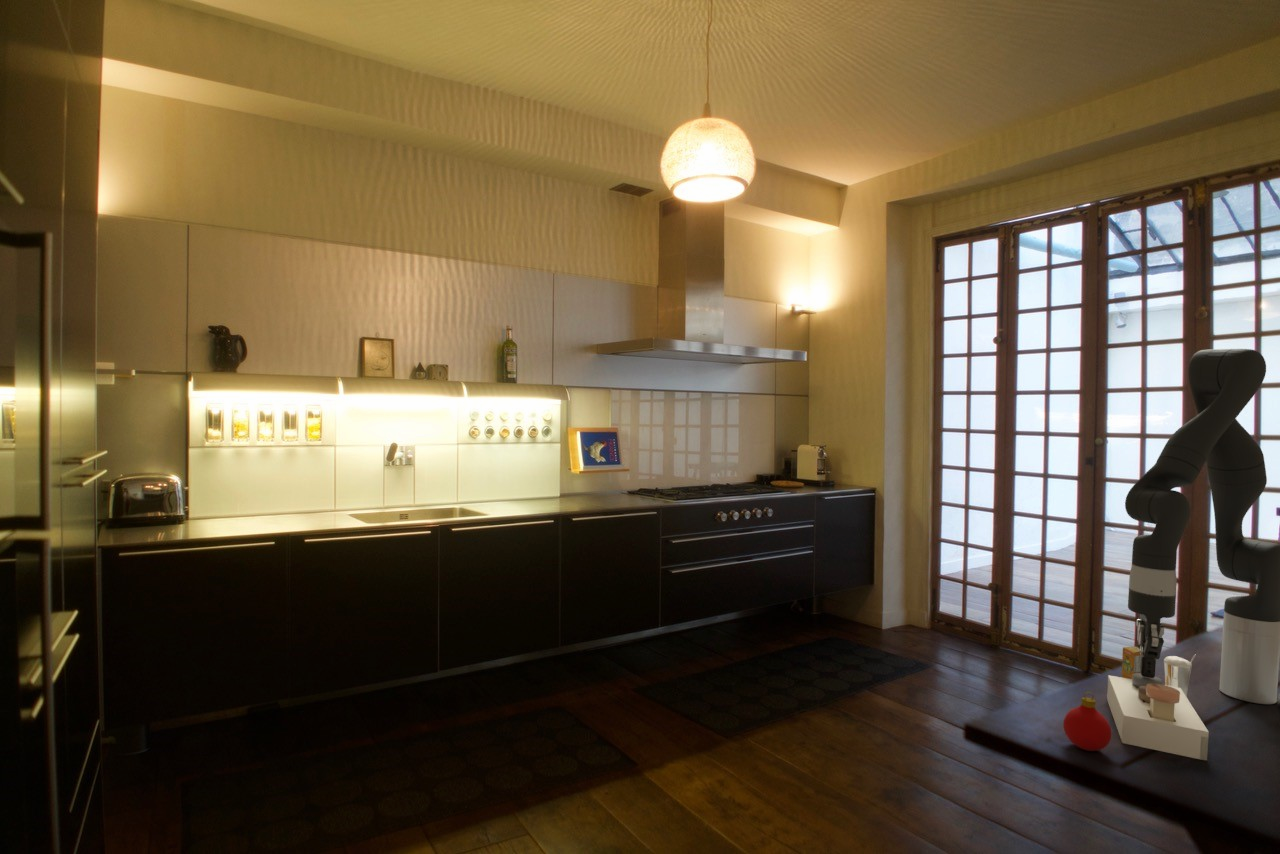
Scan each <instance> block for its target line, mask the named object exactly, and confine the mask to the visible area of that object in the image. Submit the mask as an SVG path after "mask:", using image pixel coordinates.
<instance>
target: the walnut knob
mask: <svg viewBox="0 0 1280 854" xmlns="http://www.w3.org/2000/svg"><path fill="white" fill-rule="evenodd" d="M1138 697H1139V698H1140V699H1142V701H1143V702H1145V703H1150V697H1148V696H1147V695H1146V686H1140V687H1139V690H1138Z"/></svg>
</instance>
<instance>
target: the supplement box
mask: <svg viewBox="0 0 1280 854" xmlns="http://www.w3.org/2000/svg"><path fill="white" fill-rule="evenodd" d="M1139 650H1140V649H1139V647H1138V646H1123V647H1122V660H1121V677H1122V678H1127V679H1132V675H1133V674H1134V673H1140V664H1141V655H1140V653H1139Z"/></svg>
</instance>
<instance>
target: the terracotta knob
mask: <svg viewBox="0 0 1280 854" xmlns="http://www.w3.org/2000/svg"><path fill="white" fill-rule="evenodd" d="M1146 695H1147V696H1148V697H1150V714H1149V716H1150V717H1151V718H1156V719H1161V720H1166V721H1171V722H1174V706H1175V703H1179V700H1180V692H1179V691H1178V690H1177V689H1175V688H1172V687H1169V686H1166V685H1165V684H1162V685H1161V684H1147V685H1146Z"/></svg>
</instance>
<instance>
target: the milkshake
mask: <svg viewBox="0 0 1280 854" xmlns="http://www.w3.org/2000/svg"><path fill="white" fill-rule="evenodd" d="M1195 658H1196V654H1194V655H1193V656H1192V657H1191V660H1190V661H1189V660H1187V659H1185V658H1184V657H1181V656H1180V657H1179V656H1176V655H1169V656H1168V655H1167V656H1166V657H1164V658H1163V666H1164V682H1165V683H1164V685H1167V686H1173V687H1179V688H1181V689H1182V691H1183V693H1184V694H1185V696H1186V697H1187V695H1188V690H1189V683H1190V676H1191V671H1192V665H1193V664H1192V662H1193V661H1194V660H1195Z"/></svg>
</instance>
